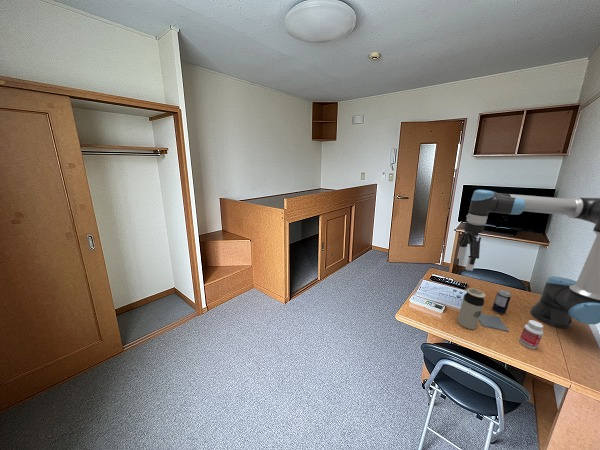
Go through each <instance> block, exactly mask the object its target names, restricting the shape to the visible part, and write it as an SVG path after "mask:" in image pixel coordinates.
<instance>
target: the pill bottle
mask: <svg viewBox="0 0 600 450" xmlns="http://www.w3.org/2000/svg"><path fill="white" fill-rule="evenodd" d="M543 328H544V325H543V324H542V323H540V322H538V320H537V321H536V320H534V319H533V320H532V319H530V320H529V319H528V322H527V324H526V323H525V324H524V326H523V328H522V331H521V332H520V333H521V334H520V336H519V338H518V340H519V343H520V344H521V345H522V346H524V347H526V348H528V349H531V350H532V349H533V350H535V349H536V350H537V349H538V348H539V345H540V342H541V340H542V337H543V335H544V331H543Z"/></svg>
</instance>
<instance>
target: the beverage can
mask: <svg viewBox="0 0 600 450" xmlns="http://www.w3.org/2000/svg"><path fill="white" fill-rule="evenodd" d="M511 298H512V294H511V292H510V291H507V290H505V289H499V290H498V291H497V292H496V296H495V298H494V302H493V305H492V310H493V312H494V313H497V314H499V315H504V314H506V312H507V309H508V307H509V304H510V301H511Z"/></svg>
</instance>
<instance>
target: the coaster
mask: <svg viewBox="0 0 600 450" xmlns="http://www.w3.org/2000/svg"><path fill="white" fill-rule="evenodd" d="M478 323H480V325H481V327H482V328H483V327H484V328H488V329H493V330H497V331H503V332H508V333H509V332H510V330H509V329H508V327H507V326H506V325H505V323H504V322H503V321H502V319H501V318H500V316H496V315H491V314H486V313H482V312H481V315H480V318H479V321H478Z"/></svg>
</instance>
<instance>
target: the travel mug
mask: <svg viewBox="0 0 600 450" xmlns="http://www.w3.org/2000/svg"><path fill="white" fill-rule="evenodd" d="M484 298H486V294H485V292H483V291H482V290H479V289H477V288H471V287H469V288H467V289H466V293H465V294H464V296H463V298H462V301H461V302H462V303H461V306H460V309H459V313H458V317H457V319H456V320H457V323H458V324H459V325H460V326H462V327H463V328H466V329H469V330H475V329H477V327H478V324H479V318H480V315H481V313H482V310H483V307H484V304H485V299H484Z"/></svg>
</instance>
